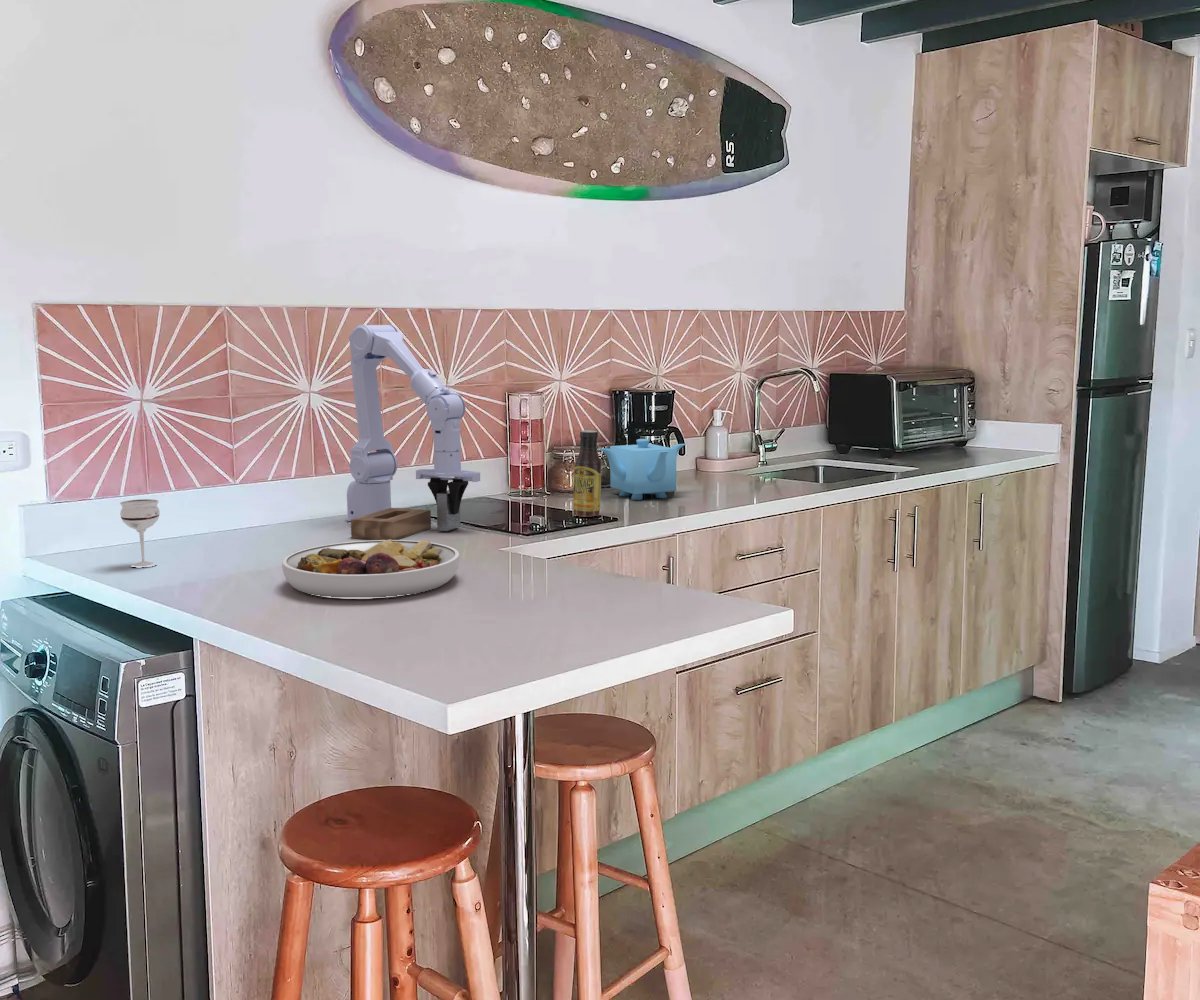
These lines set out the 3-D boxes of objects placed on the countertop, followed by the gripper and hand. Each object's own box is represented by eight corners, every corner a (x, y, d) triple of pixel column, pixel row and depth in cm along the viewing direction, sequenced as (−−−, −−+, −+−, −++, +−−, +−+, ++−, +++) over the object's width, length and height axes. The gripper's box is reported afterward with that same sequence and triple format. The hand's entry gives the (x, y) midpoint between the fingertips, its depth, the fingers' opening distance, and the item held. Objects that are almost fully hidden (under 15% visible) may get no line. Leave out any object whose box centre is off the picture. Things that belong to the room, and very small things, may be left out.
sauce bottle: (568, 517, 264) (567, 431, 261) (581, 513, 270) (580, 429, 267) (593, 519, 261) (593, 432, 258) (606, 515, 267) (605, 430, 264)
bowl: (275, 573, 209) (273, 531, 208) (438, 560, 219) (437, 520, 218) (293, 612, 181) (290, 563, 180) (478, 595, 191) (477, 549, 190)
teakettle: (620, 489, 308) (620, 434, 305) (688, 492, 301) (688, 436, 299) (596, 500, 290) (596, 442, 288) (668, 503, 284) (668, 444, 282)
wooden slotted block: (351, 538, 241) (350, 519, 240) (391, 525, 255) (390, 507, 255) (393, 541, 237) (392, 522, 236) (431, 528, 252) (430, 510, 251)
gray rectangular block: (437, 530, 247) (436, 493, 246) (450, 525, 252) (449, 489, 251) (447, 531, 246) (446, 494, 245) (460, 526, 252) (459, 490, 250)
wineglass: (170, 562, 217) (166, 499, 215) (147, 570, 211) (143, 505, 209) (139, 561, 219) (135, 498, 217) (116, 568, 213) (111, 504, 211)
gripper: (408, 451, 245) (409, 514, 248) (469, 454, 240) (470, 518, 242) (424, 448, 252) (425, 509, 254) (484, 450, 247) (485, 513, 249)
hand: (448, 513), depth 249 cm, fingers closed on gray rectangular block, 2 cm apart
